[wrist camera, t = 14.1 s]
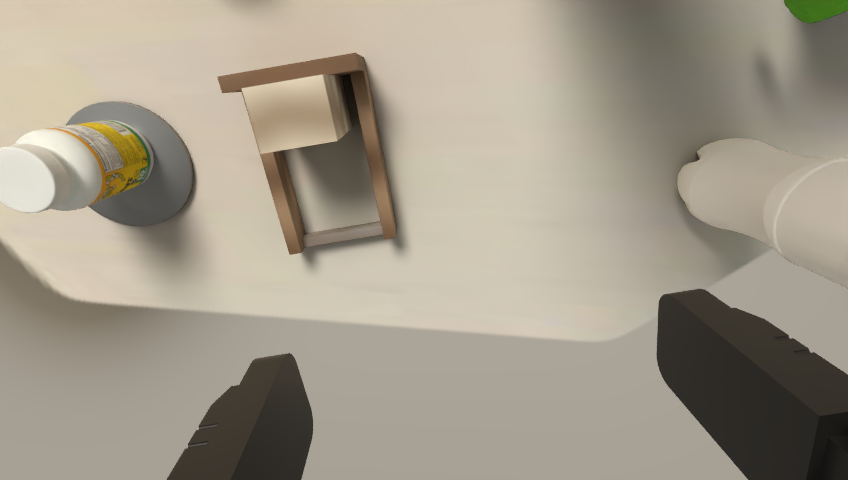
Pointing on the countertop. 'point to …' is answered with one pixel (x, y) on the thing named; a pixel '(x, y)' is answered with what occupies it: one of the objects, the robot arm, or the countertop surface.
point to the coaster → (168, 174)
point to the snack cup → (816, 9)
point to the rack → (311, 134)
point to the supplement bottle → (73, 166)
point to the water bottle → (774, 200)
